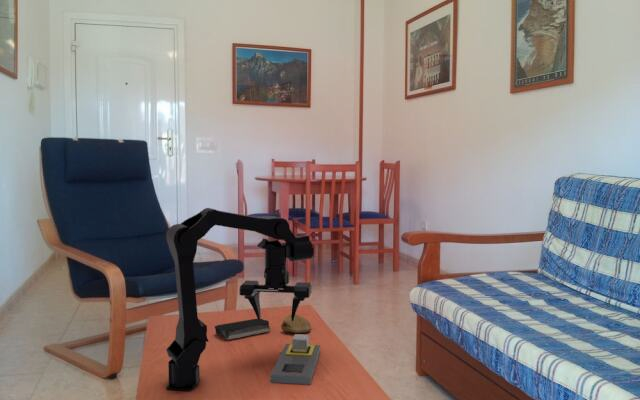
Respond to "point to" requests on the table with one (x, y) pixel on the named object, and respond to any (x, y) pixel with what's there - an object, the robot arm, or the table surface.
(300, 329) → the stone
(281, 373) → the grey board with holes
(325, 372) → the table surface
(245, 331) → the black sponge
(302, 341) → the grey metal block
